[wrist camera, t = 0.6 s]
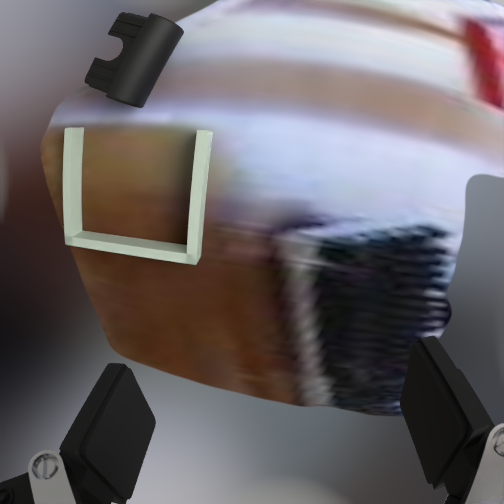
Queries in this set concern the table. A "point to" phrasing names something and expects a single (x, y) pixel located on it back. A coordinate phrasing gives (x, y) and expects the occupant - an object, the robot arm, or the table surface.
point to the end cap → (135, 58)
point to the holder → (129, 244)
